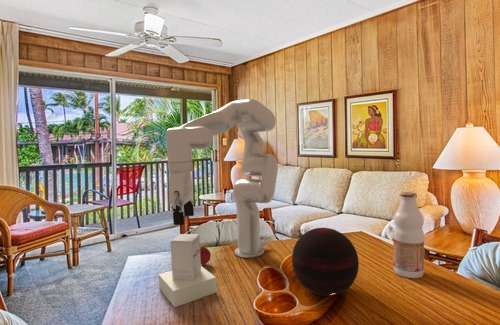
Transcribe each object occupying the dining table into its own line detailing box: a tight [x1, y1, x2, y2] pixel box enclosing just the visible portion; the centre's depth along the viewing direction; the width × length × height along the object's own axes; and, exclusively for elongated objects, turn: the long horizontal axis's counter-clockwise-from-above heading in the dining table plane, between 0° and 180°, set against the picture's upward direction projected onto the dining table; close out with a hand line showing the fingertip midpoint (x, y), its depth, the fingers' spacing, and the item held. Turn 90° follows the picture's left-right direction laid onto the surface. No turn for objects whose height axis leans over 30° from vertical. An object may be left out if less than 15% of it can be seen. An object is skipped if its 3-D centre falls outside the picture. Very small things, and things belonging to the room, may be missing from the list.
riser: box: [158, 265, 218, 308], centre depth 99 cm, size 14×14×5 cm
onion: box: [200, 244, 212, 266], centre depth 119 cm, size 6×6×8 cm
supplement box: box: [170, 233, 202, 280], centre depth 99 cm, size 7×7×13 cm
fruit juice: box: [392, 191, 425, 279], centre depth 104 cm, size 9×9×28 cm
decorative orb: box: [291, 227, 360, 297], centre depth 94 cm, size 20×20×20 cm
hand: (184, 220), depth 98 cm, fingers open, 9 cm apart
